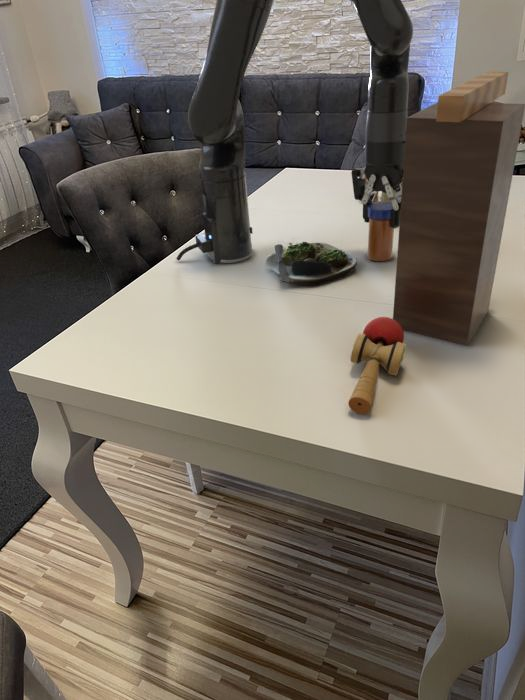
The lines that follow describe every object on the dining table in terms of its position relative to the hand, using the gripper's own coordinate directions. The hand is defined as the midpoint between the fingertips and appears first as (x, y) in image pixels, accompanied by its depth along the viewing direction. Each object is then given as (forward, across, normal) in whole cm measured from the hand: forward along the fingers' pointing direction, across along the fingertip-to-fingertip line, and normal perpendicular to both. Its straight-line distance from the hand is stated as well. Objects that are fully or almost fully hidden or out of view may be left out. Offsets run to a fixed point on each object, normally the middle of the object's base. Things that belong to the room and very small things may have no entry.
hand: (382, 223), depth 108 cm
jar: (+7, 0, 0) cm, 7 cm away
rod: (-25, +22, -14) cm, 36 cm away
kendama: (+7, +23, -37) cm, 44 cm away
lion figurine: (+7, -21, +33) cm, 39 cm away
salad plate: (+7, -8, -13) cm, 17 cm away
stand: (+7, +22, -16) cm, 29 cm away
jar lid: (-3, 0, 0) cm, 3 cm away
